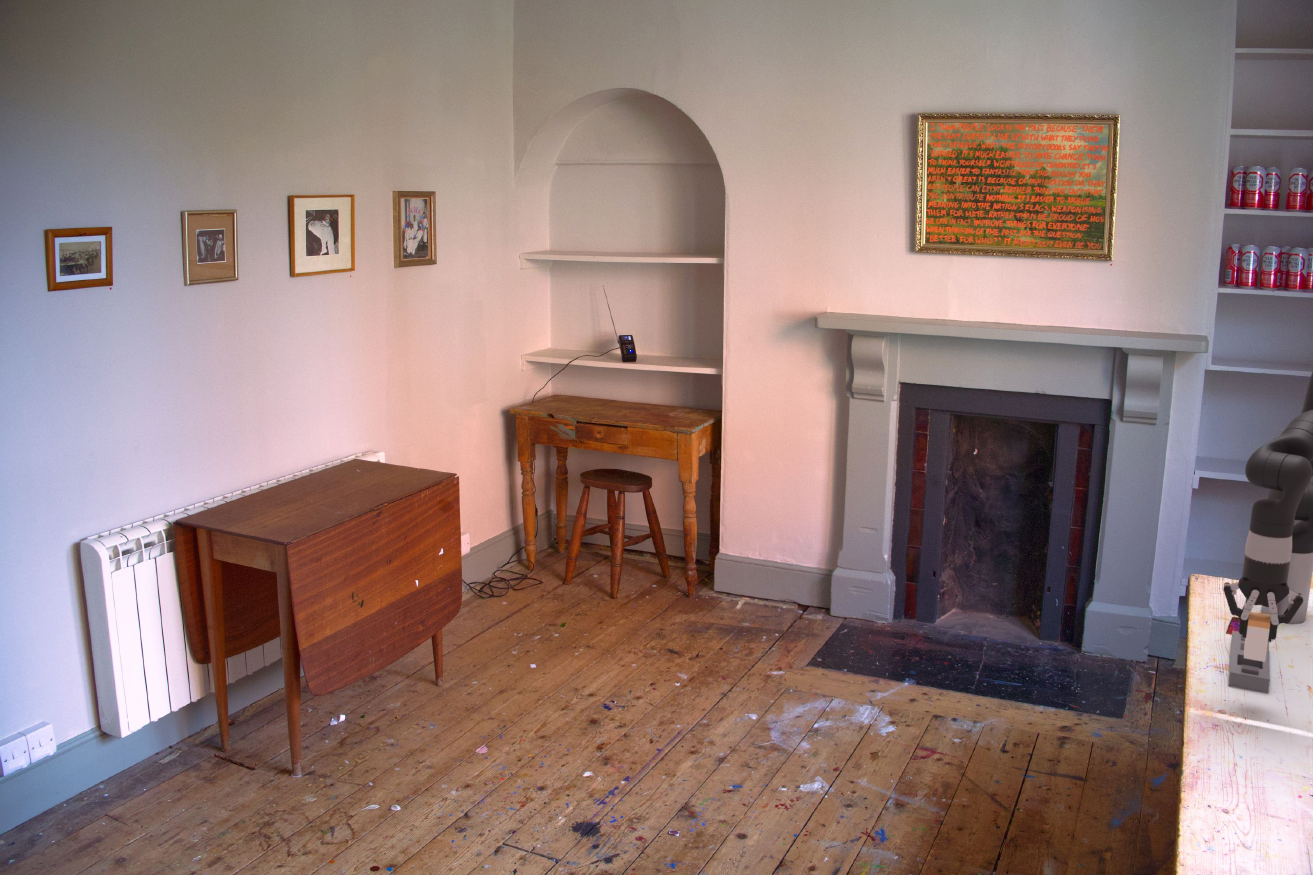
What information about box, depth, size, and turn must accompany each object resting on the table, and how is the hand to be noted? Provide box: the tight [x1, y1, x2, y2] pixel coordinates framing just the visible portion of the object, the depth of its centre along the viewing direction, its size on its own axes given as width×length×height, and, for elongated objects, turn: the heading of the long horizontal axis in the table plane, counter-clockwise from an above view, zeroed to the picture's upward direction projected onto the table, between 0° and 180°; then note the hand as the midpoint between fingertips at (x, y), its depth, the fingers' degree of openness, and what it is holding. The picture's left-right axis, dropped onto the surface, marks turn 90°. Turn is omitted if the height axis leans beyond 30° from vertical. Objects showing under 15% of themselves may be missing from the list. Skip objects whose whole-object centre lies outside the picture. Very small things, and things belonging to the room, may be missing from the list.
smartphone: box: [1225, 616, 1240, 636], centre depth 238 cm, size 8×1×15 cm
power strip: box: [1228, 631, 1271, 694], centre depth 219 cm, size 22×7×5 cm, turn 151°
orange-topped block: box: [1244, 611, 1271, 662], centre depth 201 cm, size 4×4×8 cm
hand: (1256, 637), depth 202 cm, fingers closed on orange-topped block, 3 cm apart
